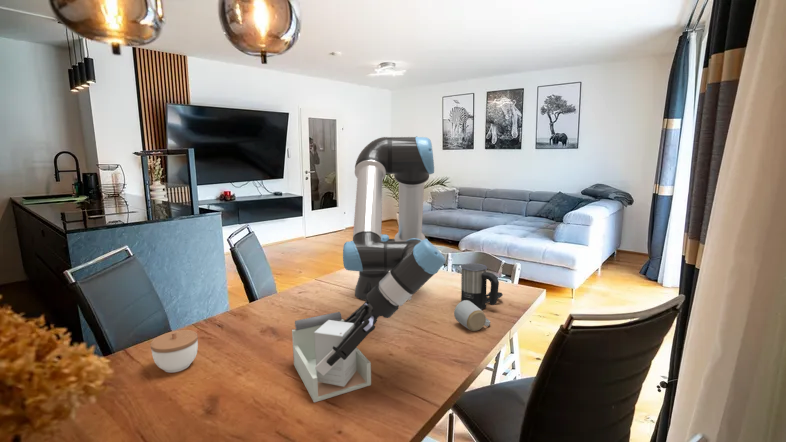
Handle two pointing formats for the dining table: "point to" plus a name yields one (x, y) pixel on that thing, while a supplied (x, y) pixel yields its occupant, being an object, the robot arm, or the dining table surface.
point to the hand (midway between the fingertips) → (322, 359)
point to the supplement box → (324, 342)
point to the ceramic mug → (470, 316)
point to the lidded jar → (175, 350)
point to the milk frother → (478, 285)
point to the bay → (307, 360)
